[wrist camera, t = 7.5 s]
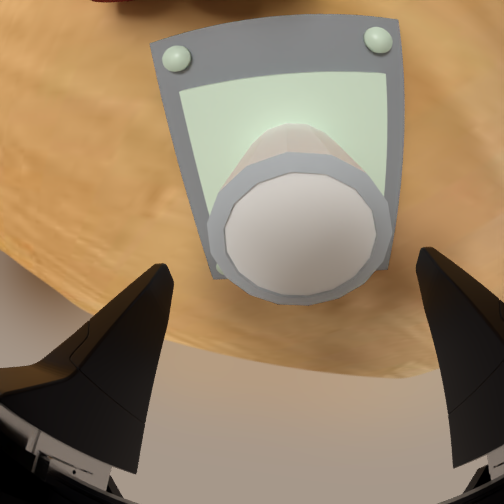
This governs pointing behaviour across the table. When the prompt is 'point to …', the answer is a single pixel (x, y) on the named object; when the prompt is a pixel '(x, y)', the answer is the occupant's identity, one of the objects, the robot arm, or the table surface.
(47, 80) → the table surface
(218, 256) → the shot glass
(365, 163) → the baseplate
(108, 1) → the toy fire truck
